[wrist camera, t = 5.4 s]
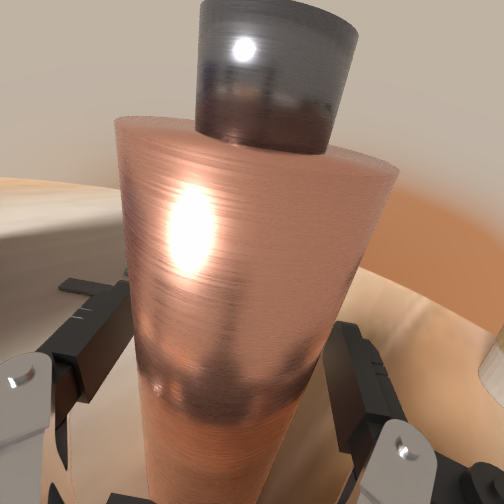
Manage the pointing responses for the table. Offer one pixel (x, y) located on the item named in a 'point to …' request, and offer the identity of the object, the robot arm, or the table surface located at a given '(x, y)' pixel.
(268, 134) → the water bottle
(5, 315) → the table surface
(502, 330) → the coffee cup
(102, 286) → the tape line
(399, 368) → the table surface
